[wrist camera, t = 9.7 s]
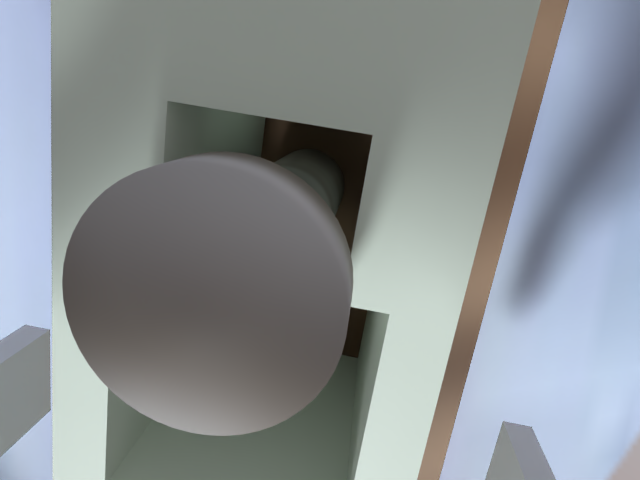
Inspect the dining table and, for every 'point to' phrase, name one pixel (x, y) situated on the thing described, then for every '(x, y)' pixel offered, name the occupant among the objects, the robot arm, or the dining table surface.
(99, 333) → the board
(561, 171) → the dining table surface
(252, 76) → the two-pocket foam insert
